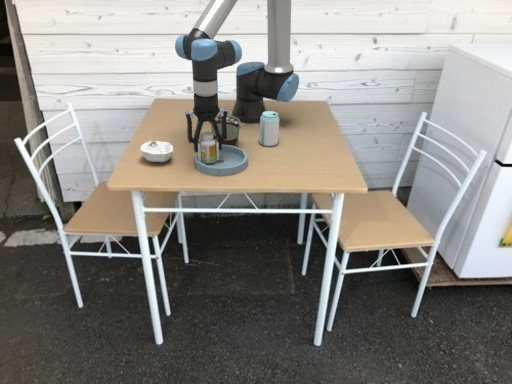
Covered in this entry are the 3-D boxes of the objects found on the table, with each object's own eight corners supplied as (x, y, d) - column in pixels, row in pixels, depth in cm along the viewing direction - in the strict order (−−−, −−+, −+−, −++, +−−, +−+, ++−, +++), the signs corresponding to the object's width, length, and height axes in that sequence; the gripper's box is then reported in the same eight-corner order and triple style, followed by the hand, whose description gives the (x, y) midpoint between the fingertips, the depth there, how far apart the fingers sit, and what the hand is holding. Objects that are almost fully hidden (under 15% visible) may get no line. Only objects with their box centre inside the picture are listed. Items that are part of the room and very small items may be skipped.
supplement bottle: (216, 156, 142) (215, 130, 136) (216, 163, 137) (215, 137, 132) (200, 156, 141) (199, 130, 136) (200, 163, 137) (198, 137, 131)
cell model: (161, 170, 135) (159, 152, 132) (135, 161, 141) (132, 143, 137) (181, 159, 143) (180, 141, 139) (156, 150, 148) (154, 133, 144)
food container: (245, 142, 156) (246, 117, 151) (240, 148, 151) (240, 123, 146) (216, 137, 160) (215, 112, 154) (209, 143, 155) (209, 118, 149)
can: (268, 138, 160) (269, 108, 154) (281, 143, 156) (283, 113, 150) (255, 143, 156) (256, 113, 150) (268, 149, 152) (270, 118, 145)
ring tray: (240, 149, 151) (240, 142, 149) (253, 172, 136) (253, 165, 134) (191, 154, 146) (191, 147, 145) (199, 178, 131) (199, 171, 130)
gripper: (231, 87, 132) (232, 151, 144) (174, 90, 127) (179, 157, 140) (237, 94, 126) (237, 161, 138) (177, 98, 121) (182, 167, 133)
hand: (208, 159), depth 139 cm, fingers closed on supplement bottle, 5 cm apart
